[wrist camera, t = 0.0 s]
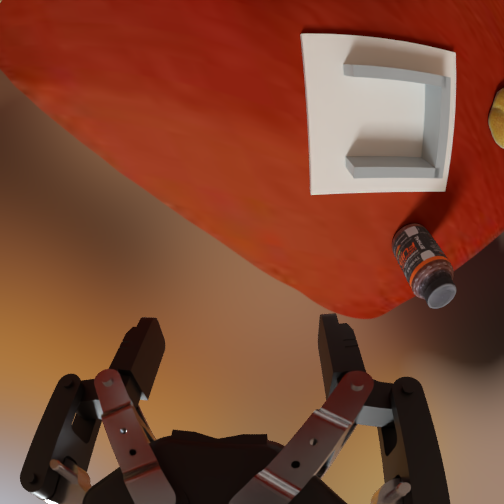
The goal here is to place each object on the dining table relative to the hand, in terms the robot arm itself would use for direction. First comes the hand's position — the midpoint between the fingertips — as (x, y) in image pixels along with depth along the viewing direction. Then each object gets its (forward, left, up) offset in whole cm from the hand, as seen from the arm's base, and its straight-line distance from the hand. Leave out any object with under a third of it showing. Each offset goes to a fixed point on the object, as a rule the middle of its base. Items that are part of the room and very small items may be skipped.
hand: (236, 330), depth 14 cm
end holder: (-12, +11, -22) cm, 28 cm away
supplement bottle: (0, +24, -23) cm, 33 cm away
